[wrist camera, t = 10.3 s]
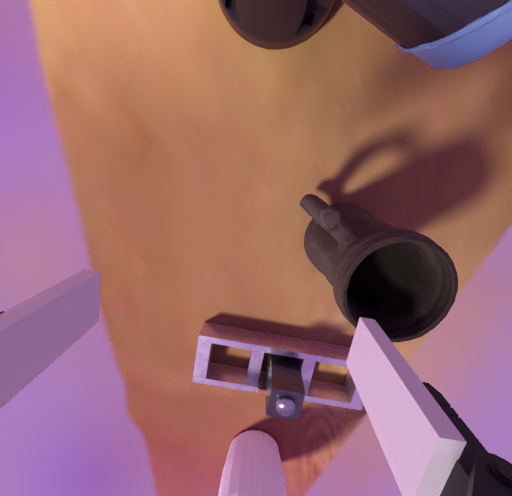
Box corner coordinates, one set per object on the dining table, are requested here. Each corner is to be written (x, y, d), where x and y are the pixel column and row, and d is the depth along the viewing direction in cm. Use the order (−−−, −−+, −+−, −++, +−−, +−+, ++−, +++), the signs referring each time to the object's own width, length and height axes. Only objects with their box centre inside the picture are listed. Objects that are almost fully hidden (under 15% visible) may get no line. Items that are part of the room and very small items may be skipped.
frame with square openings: (204, 321, 46) (198, 336, 42) (367, 350, 47) (377, 367, 43) (198, 365, 48) (191, 383, 44) (353, 391, 49) (361, 412, 45)
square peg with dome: (270, 344, 47) (272, 391, 37) (296, 348, 47) (306, 397, 37) (265, 366, 48) (265, 418, 38) (291, 370, 48) (298, 424, 38)
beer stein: (395, 235, 42) (497, 278, 22) (347, 289, 44) (401, 370, 24) (313, 172, 41) (344, 159, 21) (269, 230, 43) (260, 267, 23)
